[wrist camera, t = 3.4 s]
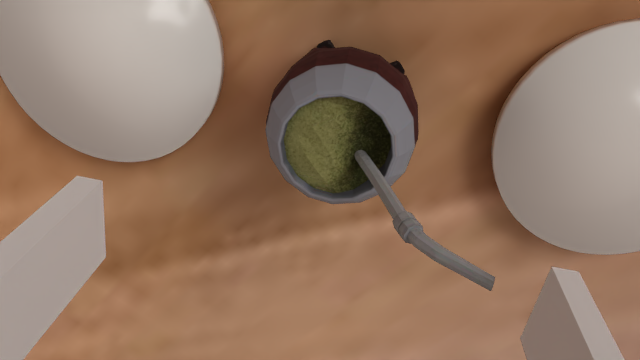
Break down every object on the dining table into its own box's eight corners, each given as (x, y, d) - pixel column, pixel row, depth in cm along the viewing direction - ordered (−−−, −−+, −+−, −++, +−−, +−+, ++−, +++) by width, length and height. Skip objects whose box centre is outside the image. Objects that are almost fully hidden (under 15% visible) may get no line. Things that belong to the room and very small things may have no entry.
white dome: (534, -6, 26) (542, -2, 25) (805, 41, 26) (828, 49, 24) (462, 216, 32) (464, 230, 31) (679, 259, 32) (691, 274, 30)
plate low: (-12, -102, 27) (-33, -103, 26) (235, -59, 27) (227, -57, 25) (17, 130, 33) (2, 139, 32) (220, 169, 33) (212, 180, 32)
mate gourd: (264, 65, 30) (158, 196, 16) (393, -7, 27) (391, 78, 14) (330, 174, 32) (284, 363, 19) (454, 117, 30) (501, 290, 16)
